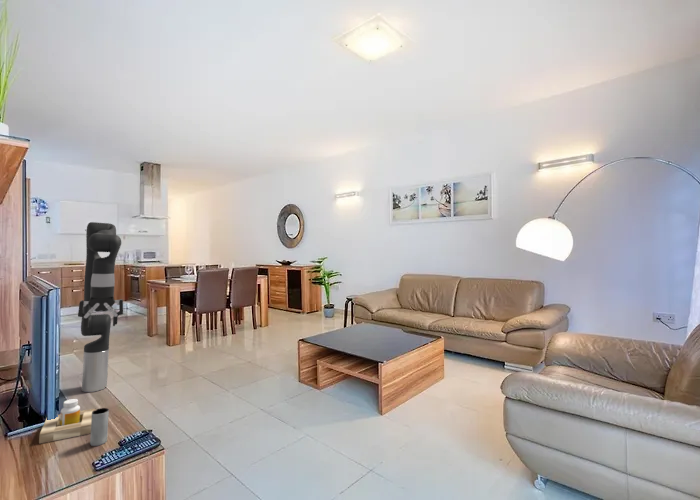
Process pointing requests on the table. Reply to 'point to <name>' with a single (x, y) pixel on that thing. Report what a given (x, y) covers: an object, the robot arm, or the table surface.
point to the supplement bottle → (70, 412)
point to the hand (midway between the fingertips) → (100, 326)
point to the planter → (99, 426)
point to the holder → (66, 428)
